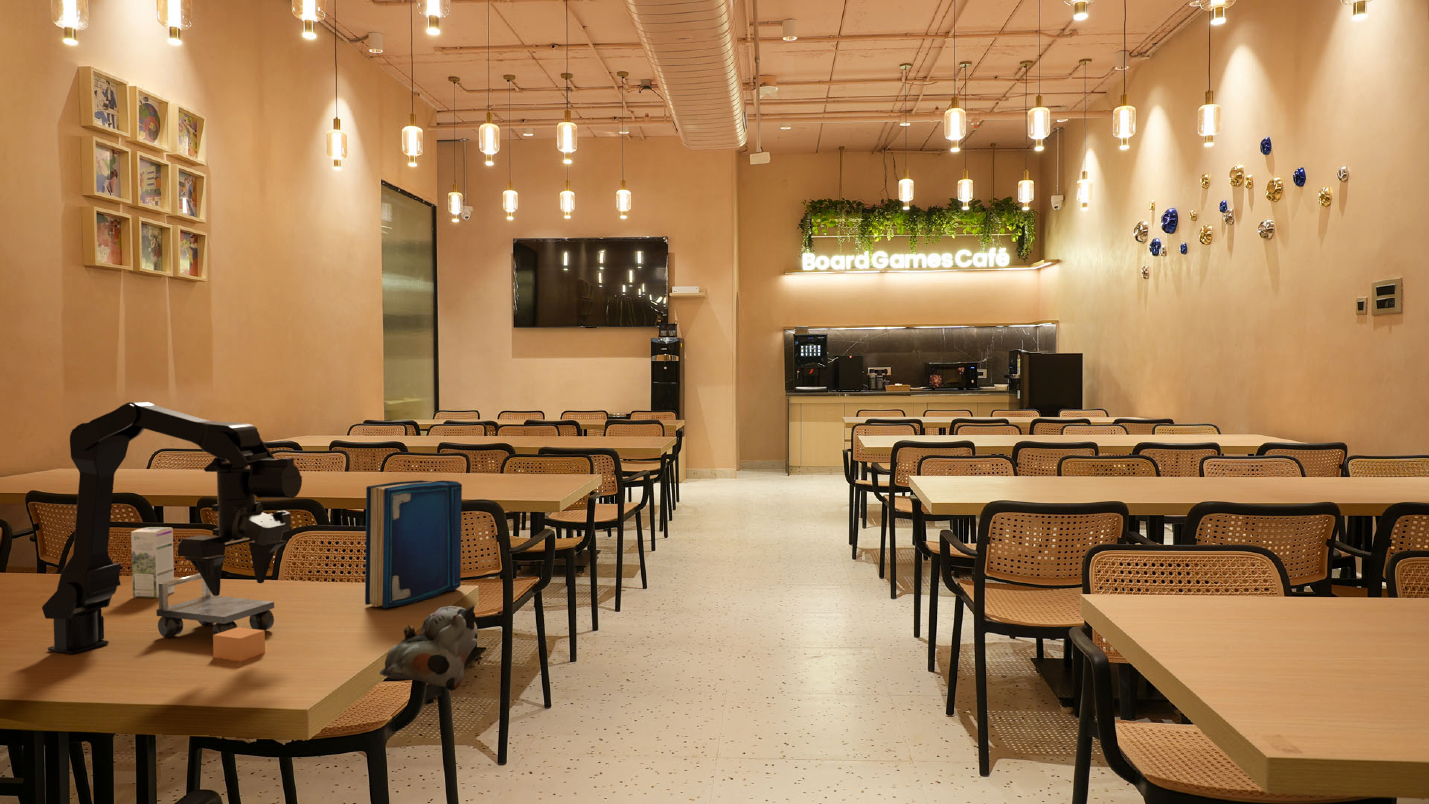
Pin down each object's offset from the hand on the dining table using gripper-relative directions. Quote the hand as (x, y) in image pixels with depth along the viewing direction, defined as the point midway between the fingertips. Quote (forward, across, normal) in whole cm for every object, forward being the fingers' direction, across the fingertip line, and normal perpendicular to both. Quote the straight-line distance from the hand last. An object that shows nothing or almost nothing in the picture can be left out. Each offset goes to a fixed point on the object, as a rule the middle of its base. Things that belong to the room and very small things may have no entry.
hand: (238, 589), depth 151 cm
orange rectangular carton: (+11, 0, 0) cm, 11 cm away
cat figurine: (+12, -2, -39) cm, 41 cm away
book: (+12, +42, -5) cm, 44 cm away
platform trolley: (+11, +8, +14) cm, 19 cm away
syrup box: (+11, +26, +52) cm, 59 cm away
